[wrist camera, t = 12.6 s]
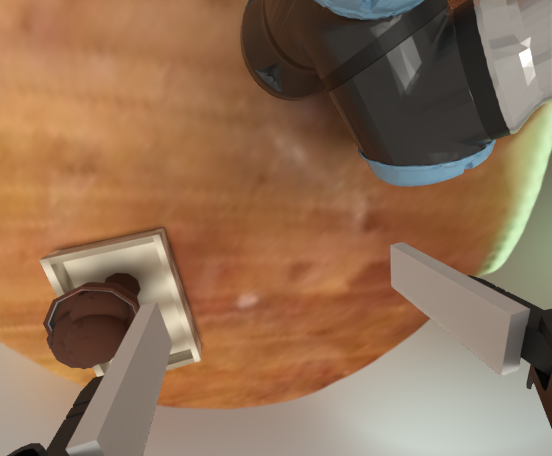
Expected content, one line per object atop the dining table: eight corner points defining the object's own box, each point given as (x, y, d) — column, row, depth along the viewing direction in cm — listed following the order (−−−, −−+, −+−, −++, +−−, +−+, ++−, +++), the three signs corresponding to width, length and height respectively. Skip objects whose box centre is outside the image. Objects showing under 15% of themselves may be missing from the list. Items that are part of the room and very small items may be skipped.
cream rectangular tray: (54, 251, 39) (39, 260, 35) (163, 227, 41) (159, 234, 38) (111, 372, 46) (103, 389, 43) (201, 346, 49) (200, 360, 45)
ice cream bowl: (113, 242, 39) (55, 293, 25) (172, 285, 43) (150, 349, 29) (66, 290, 40) (-17, 366, 26) (129, 328, 43) (86, 412, 29)
